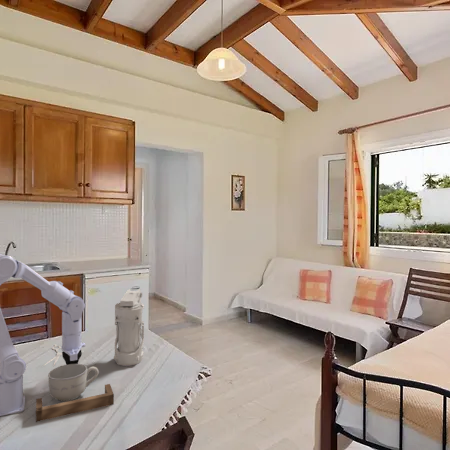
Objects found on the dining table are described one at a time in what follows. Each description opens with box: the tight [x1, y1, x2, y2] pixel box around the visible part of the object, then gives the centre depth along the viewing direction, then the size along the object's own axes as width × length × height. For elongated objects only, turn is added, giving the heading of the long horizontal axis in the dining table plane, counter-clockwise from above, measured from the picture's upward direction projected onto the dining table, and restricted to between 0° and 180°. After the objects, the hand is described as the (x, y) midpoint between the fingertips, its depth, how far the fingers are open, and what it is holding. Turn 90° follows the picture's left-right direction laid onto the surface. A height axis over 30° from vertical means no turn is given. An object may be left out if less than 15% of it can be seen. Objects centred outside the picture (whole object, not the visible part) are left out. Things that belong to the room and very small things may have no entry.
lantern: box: [113, 288, 145, 367], centre depth 133 cm, size 13×10×25 cm
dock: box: [35, 383, 115, 423], centre depth 102 cm, size 20×7×3 cm, turn 117°
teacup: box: [47, 363, 100, 402], centre depth 107 cm, size 14×11×8 cm
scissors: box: [42, 343, 62, 367], centre depth 135 cm, size 11×1×20 cm
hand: (71, 373), depth 114 cm, fingers closed
